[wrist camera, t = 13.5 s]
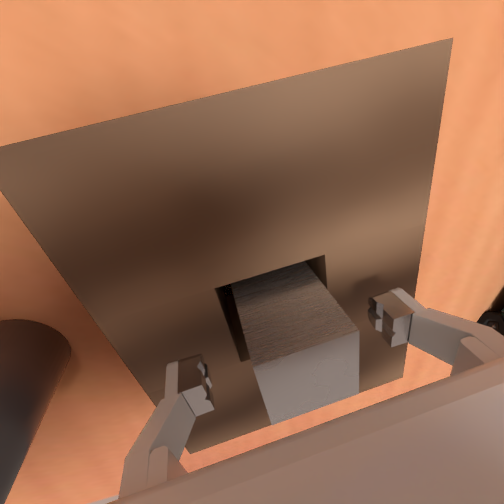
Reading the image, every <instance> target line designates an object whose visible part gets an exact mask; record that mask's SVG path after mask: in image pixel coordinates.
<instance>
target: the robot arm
mask: <svg viewBox="0 0 504 504" xmlns="http://www.w3.org/2000/svg"><path fill="white" fill-rule="evenodd" d="M368 304H369V305H370V308H369V309H368V318H369V321H370V323H371V324H372V326H373V327H374V328H375V329H376V330H378V331H381V332H382V338H383V339H384V340H385V341H386V342H387V343H388V345H389V346H390V347H394V346H397V345H400V344H404V343H407V342H408V343H409V344H411V345H413V346H415V347H417V348H419V349H421V350H423V351H425V352H427V353H429V354H431V355H433V356H435V357H437V358H439V359H441V360H443V361H444V362H446V363H448V364H450V365H452V366H453V367H452V370H451V374H450V376H449V377H447V378H444V379H441V380H439V381H436V382H433V383H430V384H428V385H425V386H422V387H420V388H417V389H414V390H412V391H409V392H406V393H403V394H401V395H398V396H395V397H393V398H390V399H387V400H385V401H382V402H379V403H376V404H374V405H371V406H368V407H366V408H363V409H360V410H358V411H355V412H352V413H349V414H347V415H344V416H341V417H339V418H336V419H333V420H331V421H328V422H325V423H323V424H320V425H317V426H315V427H312V428H309V429H306V430H304V431H301V432H298V433H296V434H293V435H290V436H288V437H285V438H282V439H280V440H277V441H274V442H271V443H269V444H266V445H263V446H261V447H258V448H255V449H253V450H250V451H247V452H245V453H242V454H239V455H236V456H234V457H231V458H228V459H226V460H223V461H220V462H218V463H215V464H212V465H210V466H207V467H204V468H201V469H199V470H196V471H193V472H191V473H188V472H187V471H186V470H185V469H184V467H183V466H182V465H181V464H180V462H179V460H180V457H181V455H182V452H183V450H184V447H185V444H186V442H187V439H188V437H189V434H190V432H191V429H192V427H193V424H194V422H195V419H196V417H197V416H199V415H202V414H204V413H207V412H210V411H212V410H215V408H214V398H213V393H212V391H211V387H212V380H211V375H210V371H209V368H208V366H207V364H205V363H204V357H203V355H202V354H201V353H200V354H197V355H194V356H190V357H187V358H184V359H181V360H178V361H175V362H171V363H168V364H167V367H166V381H165V397H164V399H162V400H161V401H160V402H159V404H158V406H157V407H156V409H155V410H154V412H153V414H152V415H151V417H150V419H149V420H148V422H147V423H146V425H145V427H144V428H143V430H142V432H141V433H140V435H139V436H138V438H137V440H136V441H135V443H134V445H133V446H132V448H131V449H130V451H129V453H128V454H127V456H126V458H125V462H124V468H123V474H122V480H121V486H120V492H119V498H118V500H115V501H112V502H110V503H107V504H504V336H503V335H501V334H500V333H498V332H497V331H496V330H494V329H493V328H492V327H488V326H485V325H482V324H479V323H476V322H472V321H469V320H466V319H463V318H460V317H456V316H453V315H450V314H447V313H444V312H440V311H437V310H434V309H431V308H428V309H426V308H425V307H423V306H422V305H421V304H420V303H419V302H417V301H416V300H415V299H414V298H412V297H411V296H410V295H409V294H408V293H406V292H405V291H404V290H403V289H402V288H399V287H398V288H395V289H392V290H389V291H386V292H383V293H380V294H377V295H375V296H372V297H369V299H368Z"/></svg>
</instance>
